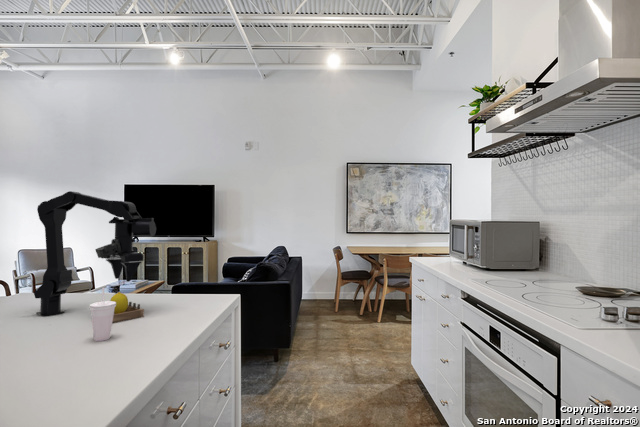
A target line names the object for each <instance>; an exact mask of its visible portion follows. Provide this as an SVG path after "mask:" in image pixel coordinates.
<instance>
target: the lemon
mask: <svg viewBox="0 0 640 427" xmlns="http://www.w3.org/2000/svg"><path fill="white" fill-rule="evenodd" d="M109 301H114V302H116V307H115V309H114V314H119V313H124V312H125V311H126V310H127V308H128V305H129V299H128V296H127V295H126V294H124V293H122V292H120V291H118V292H117V293H115V294H114V295H112V297H111V298H110V300H109Z"/></svg>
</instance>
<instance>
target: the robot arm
mask: <svg viewBox="0 0 640 427" xmlns="http://www.w3.org/2000/svg"><path fill="white" fill-rule="evenodd" d="M76 205H80V206H86V207H90V208H94V209H99V210H102V211H105V212H107V213H108V214H110V215H112V216H114V217H113V218H112V219H110V220H109V221H108V224H114V238H112V239H111V243H109V244H106V245H103V246H99V247H98V248H95V253H96V255H97V258H98V259H105V262H108V264H110V265H111V269H112V273H113V275H114V279H116V280H119V278H120V277H121V273H122V271H123V267H124V272H125V279H126V282H131V281H132V278H133V277H134V275H135V273H136V271H137V269H138V267H139V266H140V264H142V262H143V261H145V260H144V256H145V255H144V254H143V253H142V252H135V250H134V249H133V245H134V243H135V242H136V239H135V238H134V236H135V237H147V238H149V237H151V238H152V237H155V235H156V232H157V224H156V223H155V220H154V219H155V218H154V217H146V218H145V217H144V218H143V217H142V216H141V215H140V213H139V212H138V211H137V208H136V205H135V203H133V202H131V201H122V200H109V199H104V198H100V197H97V196H92V195H88V194H84V193H81V192H78V191H67V192H65V193H63V194H61V195H59V196H55V197H53V198H51V199H49V200H44V201H42V202H40V203H39V205H37V214H38V219H39V220H40V222H41V224H42V225H43V226H44V235H45V250H46V269H45V272H44V274H43V275H42V283H41V285H40V286H39V287H38V288H37V289H36V290H34V291H33V296H34V298H35V299H40V305H39V306H40V310H39V311H37V312H36V313H35V314H36V315H39V316H41V317H47V316H51V315H52V316H53V315H59V314H64V313H65V310H62V309H61V308H62V306H61V304H62V295H64V294H67V290H68V289H69V287H71V286H72V282H73V281H74V278H73V270H72V269H68V268H67V266H66V265H65V255H64V254H65V253H64V238H63V236H64V235H63V225H64V223H65V221H66V218H67V213H68V212H69V211H71V210H72V209H74V207H75V206H76ZM131 221H132V222H131Z"/></svg>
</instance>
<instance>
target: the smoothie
mask: <svg viewBox="0 0 640 427" xmlns="http://www.w3.org/2000/svg"><path fill="white" fill-rule="evenodd" d="M115 307H116V302H114V301H110V300H105V287H102V288H101V301H98V302H97V301H95V302H94V303H90V304H89V307H88V308H89V310H90V314H91V321H92V322H91V324H92V330H93V339H94V341H96V342H102V341H106V340H109V339H110V338H111V333H112V329H113V328H112V327H113V323H112V322H113V315H114V309H115Z"/></svg>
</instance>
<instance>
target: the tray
mask: <svg viewBox="0 0 640 427" xmlns="http://www.w3.org/2000/svg"><path fill="white" fill-rule="evenodd" d="M132 302H133V301H128V308H127V310H126V311H125V312H124V313H119V314H114V315H113V322H112V324H115V323H116V324H117V323H120V322H125V321H131V320H135V319H139V318H144V317H145V315H144V314H145V313H144V312H145V310H144V308H141V303H139V304H138V303H136V302H133V303H132Z"/></svg>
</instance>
